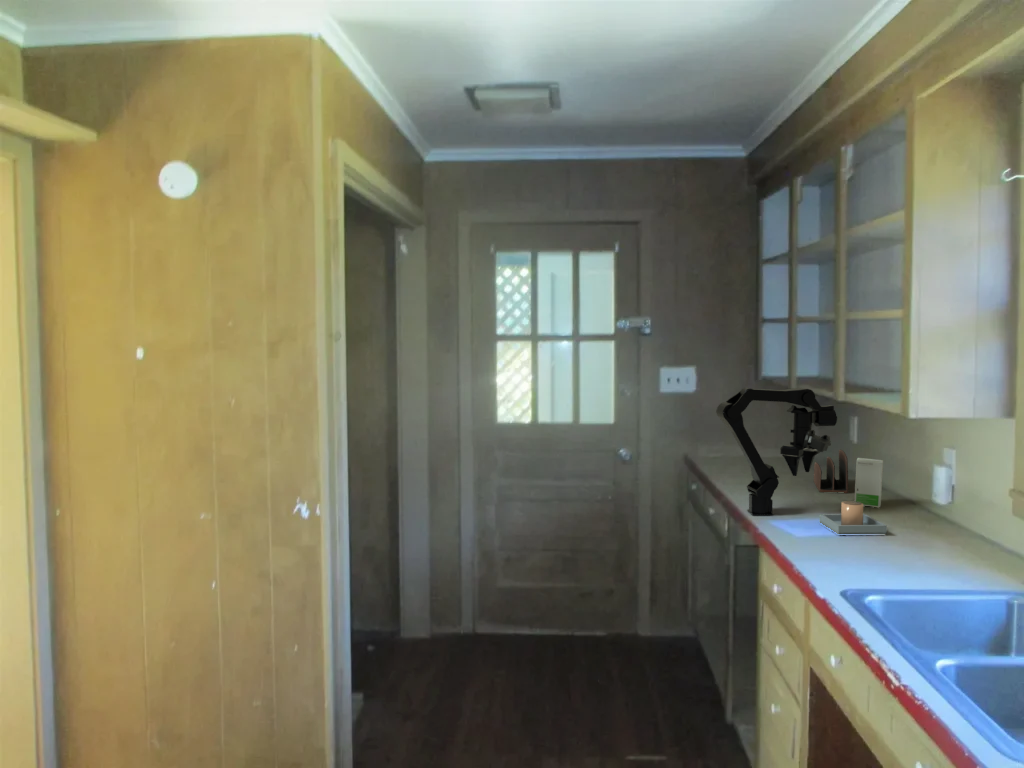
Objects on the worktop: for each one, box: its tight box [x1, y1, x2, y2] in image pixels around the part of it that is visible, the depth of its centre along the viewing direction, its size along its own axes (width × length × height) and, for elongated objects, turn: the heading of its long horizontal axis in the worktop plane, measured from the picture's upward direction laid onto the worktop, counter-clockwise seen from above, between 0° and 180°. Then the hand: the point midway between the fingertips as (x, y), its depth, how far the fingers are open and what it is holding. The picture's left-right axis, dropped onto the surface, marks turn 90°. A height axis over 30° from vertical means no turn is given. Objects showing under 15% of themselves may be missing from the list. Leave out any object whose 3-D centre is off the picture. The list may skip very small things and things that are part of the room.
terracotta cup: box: [840, 500, 864, 525], centre depth 235 cm, size 6×6×7 cm
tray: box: [818, 513, 888, 535], centre depth 235 cm, size 14×14×3 cm
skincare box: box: [853, 457, 884, 508], centre depth 265 cm, size 8×7×16 cm
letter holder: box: [813, 449, 849, 494], centre depth 294 cm, size 10×20×14 cm, turn 165°
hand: (801, 473), depth 256 cm, fingers open, 9 cm apart
